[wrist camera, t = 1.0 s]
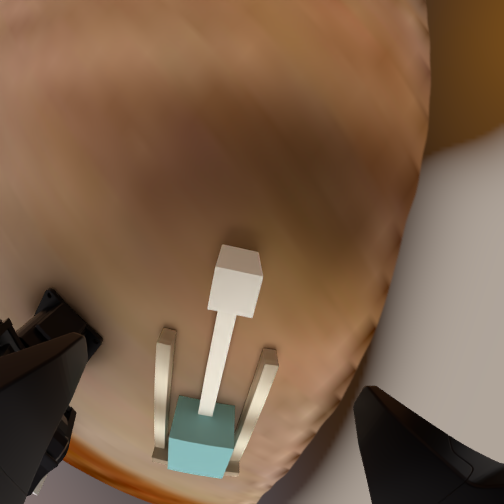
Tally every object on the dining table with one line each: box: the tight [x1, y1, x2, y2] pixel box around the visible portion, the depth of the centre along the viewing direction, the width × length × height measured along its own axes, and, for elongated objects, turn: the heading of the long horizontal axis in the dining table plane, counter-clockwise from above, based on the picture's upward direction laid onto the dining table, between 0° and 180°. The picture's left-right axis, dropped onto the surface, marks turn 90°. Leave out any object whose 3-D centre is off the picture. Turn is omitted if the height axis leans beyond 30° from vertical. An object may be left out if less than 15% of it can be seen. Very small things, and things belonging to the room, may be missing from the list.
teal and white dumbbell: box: [168, 244, 263, 478], centre depth 18 cm, size 20×5×5 cm, turn 167°
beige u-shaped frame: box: [152, 328, 279, 477], centre depth 20 cm, size 15×9×4 cm, turn 167°
